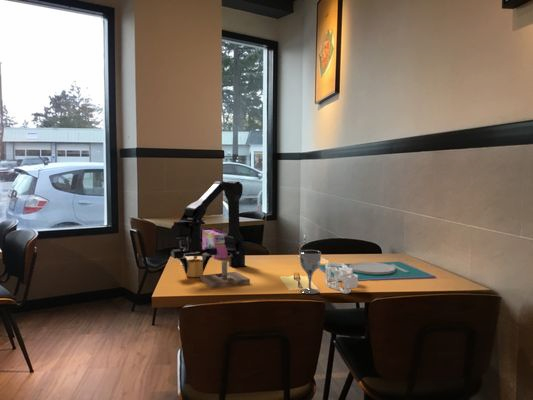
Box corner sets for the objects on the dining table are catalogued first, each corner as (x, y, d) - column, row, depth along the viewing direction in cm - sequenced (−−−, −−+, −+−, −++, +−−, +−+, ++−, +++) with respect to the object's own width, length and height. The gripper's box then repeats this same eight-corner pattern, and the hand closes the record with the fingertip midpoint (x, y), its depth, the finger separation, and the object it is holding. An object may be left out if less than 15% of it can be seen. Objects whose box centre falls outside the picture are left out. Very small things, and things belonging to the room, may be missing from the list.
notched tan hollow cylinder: (199, 272, 194) (199, 258, 194) (205, 275, 188) (205, 261, 188) (184, 274, 191) (183, 260, 191) (188, 277, 185) (188, 263, 185)
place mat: (400, 262, 223) (400, 258, 223) (435, 277, 194) (435, 272, 194) (313, 266, 214) (314, 261, 214) (336, 282, 184) (336, 277, 184)
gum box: (201, 252, 244) (201, 228, 244) (214, 251, 248) (214, 228, 247) (214, 259, 224) (214, 234, 223) (228, 258, 227) (228, 233, 226)
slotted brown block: (236, 276, 191) (236, 256, 190) (249, 284, 178) (249, 262, 178) (199, 280, 184) (199, 259, 183) (211, 288, 171) (211, 266, 171)
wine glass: (305, 287, 174) (306, 248, 173) (324, 290, 170) (324, 251, 169) (295, 291, 168) (295, 252, 167) (313, 295, 163) (314, 254, 162)
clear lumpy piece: (359, 293, 167) (360, 274, 166) (329, 293, 167) (330, 273, 166) (350, 279, 186) (350, 262, 186) (323, 279, 187) (324, 262, 186)
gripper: (208, 231, 200) (209, 266, 201) (167, 234, 191) (167, 270, 193) (217, 235, 190) (217, 271, 191) (174, 238, 182) (174, 276, 183)
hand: (194, 272), depth 190 cm, fingers closed on notched tan hollow cylinder, 7 cm apart
